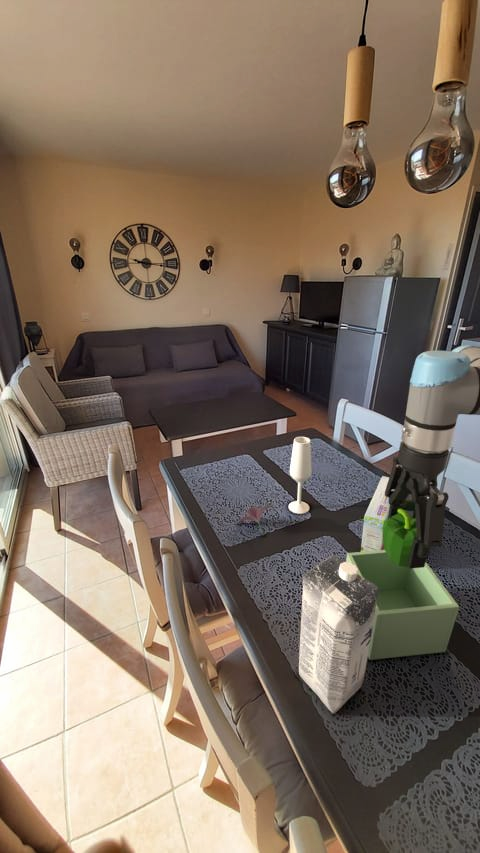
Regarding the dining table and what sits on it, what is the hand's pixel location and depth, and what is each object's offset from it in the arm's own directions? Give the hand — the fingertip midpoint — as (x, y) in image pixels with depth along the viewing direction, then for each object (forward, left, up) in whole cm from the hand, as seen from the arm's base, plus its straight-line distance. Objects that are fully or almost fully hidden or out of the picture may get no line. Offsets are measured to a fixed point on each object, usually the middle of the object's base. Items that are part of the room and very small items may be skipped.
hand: (403, 548), depth 70 cm
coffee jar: (-21, -35, -20) cm, 46 cm away
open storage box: (0, 0, -20) cm, 20 cm away
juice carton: (+17, +11, -20) cm, 29 cm away
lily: (+25, -34, -20) cm, 47 cm away
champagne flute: (+10, -42, -20) cm, 48 cm away
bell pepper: (0, 0, -2) cm, 2 cm away
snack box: (-8, -24, -20) cm, 32 cm away
